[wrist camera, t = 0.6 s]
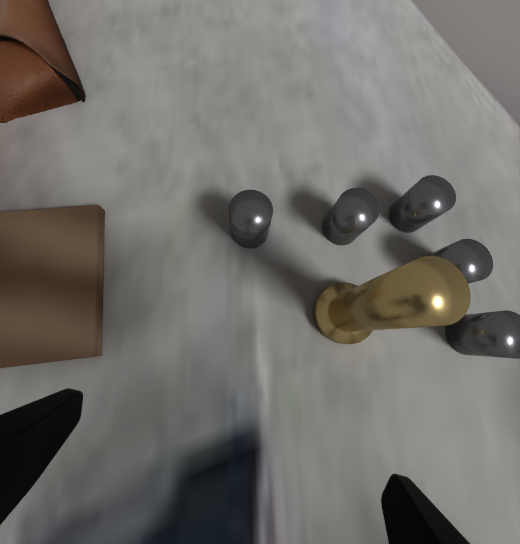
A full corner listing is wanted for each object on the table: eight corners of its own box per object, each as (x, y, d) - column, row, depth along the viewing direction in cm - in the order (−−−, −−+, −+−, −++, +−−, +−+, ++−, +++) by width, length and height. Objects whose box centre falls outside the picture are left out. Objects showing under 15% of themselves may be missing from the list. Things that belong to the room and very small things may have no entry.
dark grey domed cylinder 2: (487, 352, 22) (540, 355, 18) (451, 357, 22) (497, 361, 18) (475, 313, 23) (523, 308, 19) (440, 317, 22) (482, 313, 18)
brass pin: (376, 339, 22) (506, 340, 11) (318, 347, 21) (395, 355, 10) (363, 282, 23) (470, 232, 12) (309, 288, 22) (369, 241, 12)
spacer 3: (426, 231, 24) (460, 210, 20) (393, 234, 24) (422, 213, 20) (417, 199, 25) (449, 174, 21) (385, 202, 25) (411, 176, 21)
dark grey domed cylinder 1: (455, 288, 23) (498, 278, 19) (421, 292, 23) (458, 282, 19) (445, 253, 24) (485, 237, 20) (412, 257, 24) (445, 240, 20)
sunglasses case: (-47, -6, 27) (-75, -101, 22) (39, 19, 32) (32, -55, 27) (-2, 129, 24) (-24, 52, 19) (87, 136, 29) (88, 76, 24)
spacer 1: (270, 246, 23) (275, 227, 19) (233, 249, 23) (231, 231, 19) (265, 212, 24) (269, 188, 20) (229, 215, 23) (227, 191, 20)
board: (101, 355, 20) (94, 356, 19) (-75, 377, 19) (-92, 379, 18) (104, 210, 23) (98, 204, 22) (-48, 222, 22) (-62, 216, 21)
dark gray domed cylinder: (360, 243, 24) (383, 224, 20) (325, 246, 23) (342, 228, 19) (353, 210, 24) (374, 186, 20) (319, 213, 24) (334, 189, 20)
